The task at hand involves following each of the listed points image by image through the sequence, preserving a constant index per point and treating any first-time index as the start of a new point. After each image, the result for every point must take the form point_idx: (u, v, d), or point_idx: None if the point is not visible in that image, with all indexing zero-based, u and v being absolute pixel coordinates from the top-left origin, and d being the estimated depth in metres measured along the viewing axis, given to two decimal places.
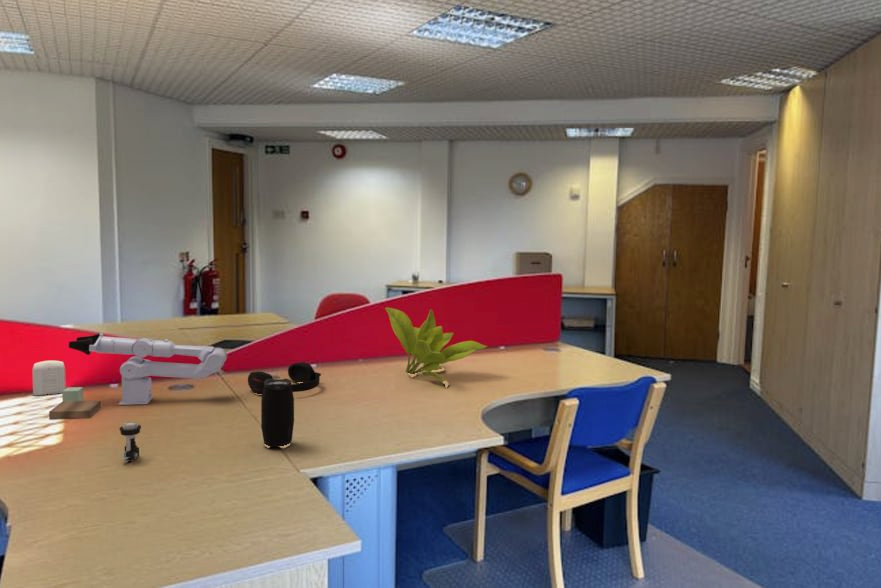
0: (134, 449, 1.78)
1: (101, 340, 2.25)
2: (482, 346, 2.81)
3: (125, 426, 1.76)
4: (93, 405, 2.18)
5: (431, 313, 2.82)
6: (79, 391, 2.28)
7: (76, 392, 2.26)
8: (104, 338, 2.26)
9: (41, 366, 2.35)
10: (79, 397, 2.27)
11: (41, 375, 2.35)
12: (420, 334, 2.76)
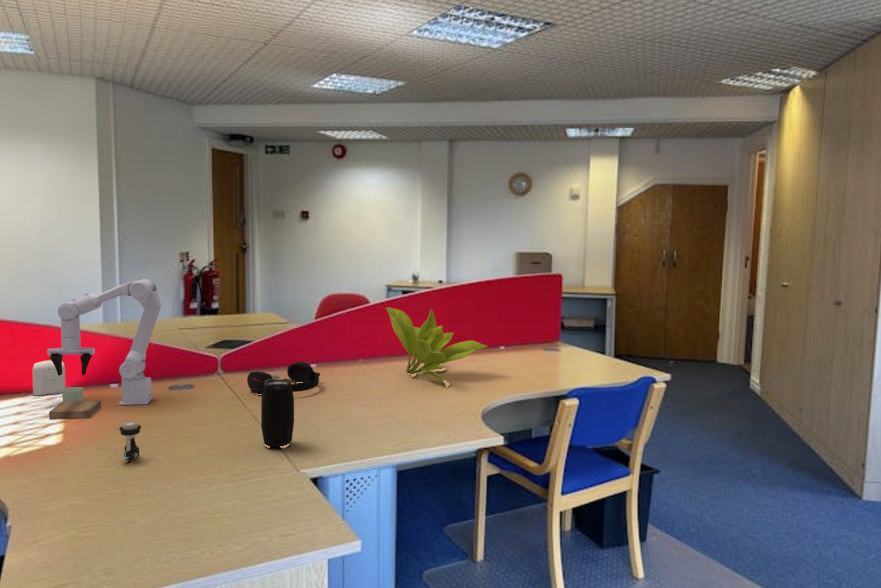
0: (134, 449, 1.78)
1: None
2: (483, 346, 2.82)
3: (125, 426, 1.76)
4: (93, 405, 2.18)
5: (432, 313, 2.83)
6: (79, 391, 2.28)
7: (76, 392, 2.26)
8: None
9: (41, 366, 2.35)
10: (79, 397, 2.27)
11: (41, 375, 2.35)
12: (420, 334, 2.77)
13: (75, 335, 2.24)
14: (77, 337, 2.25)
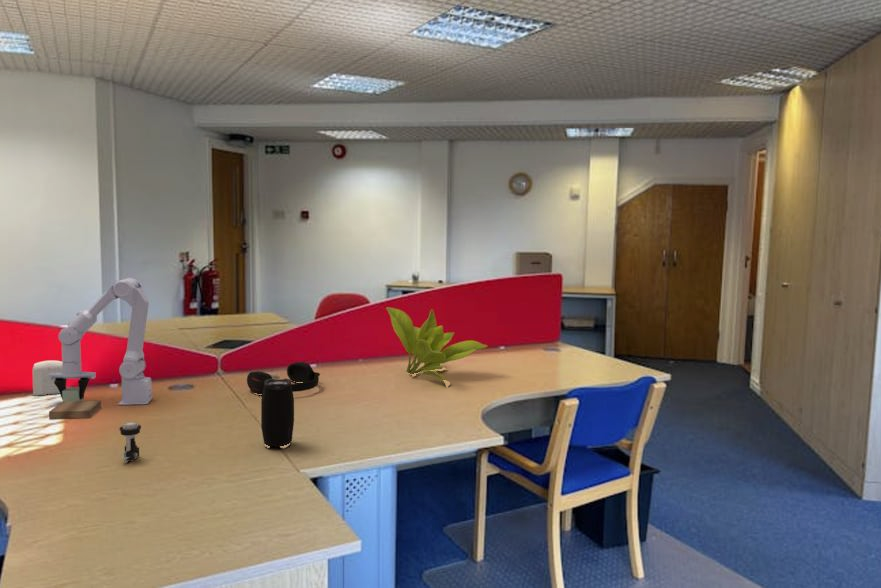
0: (134, 449, 1.78)
1: None
2: (483, 345, 2.82)
3: (125, 426, 1.76)
4: (93, 405, 2.18)
5: (432, 313, 2.83)
6: None
7: (76, 392, 2.26)
8: None
9: (41, 366, 2.35)
10: (79, 397, 2.27)
11: (41, 375, 2.35)
12: (421, 334, 2.77)
13: (76, 360, 2.25)
14: (78, 361, 2.26)
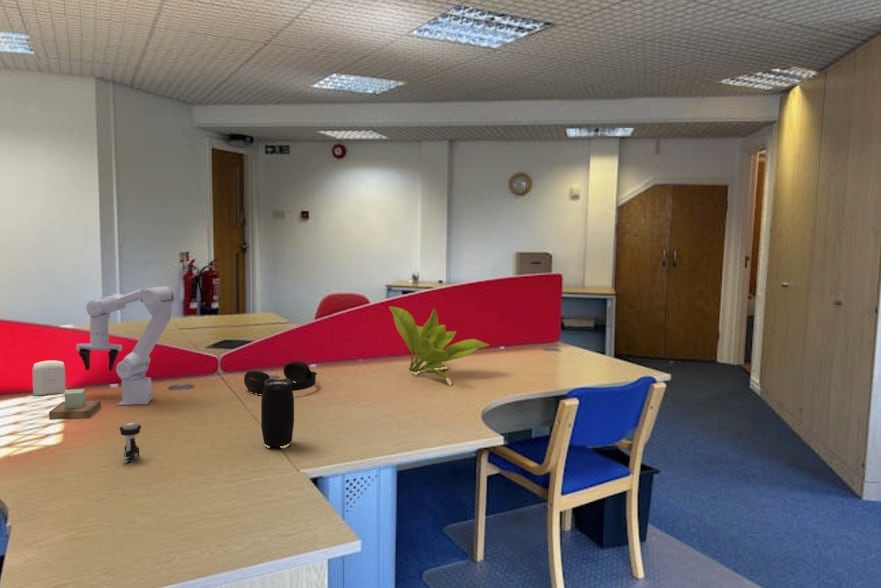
0: (134, 449, 1.78)
1: None
2: (485, 344, 2.85)
3: (125, 426, 1.76)
4: (93, 405, 2.18)
5: (434, 312, 2.86)
6: (82, 393, 2.16)
7: (80, 394, 2.15)
8: None
9: (41, 366, 2.35)
10: (82, 399, 2.16)
11: (41, 375, 2.35)
12: (423, 332, 2.80)
13: (100, 332, 2.30)
14: (105, 333, 2.32)
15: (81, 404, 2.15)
